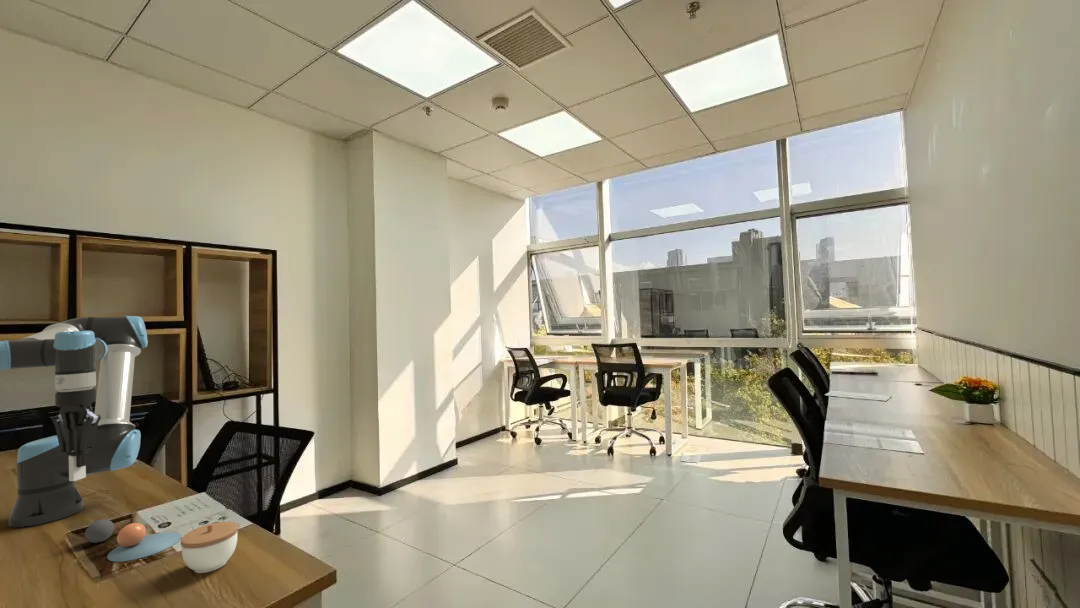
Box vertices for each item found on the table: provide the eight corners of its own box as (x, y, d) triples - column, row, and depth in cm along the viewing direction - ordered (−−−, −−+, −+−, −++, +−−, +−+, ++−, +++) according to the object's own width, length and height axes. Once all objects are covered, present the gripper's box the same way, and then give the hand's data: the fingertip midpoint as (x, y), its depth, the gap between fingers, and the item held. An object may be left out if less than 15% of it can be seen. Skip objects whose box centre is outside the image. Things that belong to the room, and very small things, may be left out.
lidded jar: (201, 555, 109) (200, 516, 109) (248, 551, 110) (247, 512, 110) (169, 581, 98) (168, 538, 99) (221, 577, 99) (220, 534, 99)
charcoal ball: (100, 521, 116) (100, 543, 115) (119, 514, 121) (120, 536, 120) (78, 525, 116) (78, 548, 115) (98, 518, 121) (99, 540, 120)
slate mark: (92, 557, 110) (92, 556, 110) (156, 530, 123) (156, 529, 123) (132, 565, 106) (132, 564, 106) (193, 536, 119) (193, 535, 119)
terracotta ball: (118, 523, 113) (133, 536, 112) (140, 515, 118) (155, 527, 117) (107, 542, 113) (122, 555, 112) (129, 533, 118) (144, 545, 117)
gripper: (38, 392, 116) (40, 483, 116) (78, 391, 114) (80, 485, 114) (73, 387, 124) (74, 473, 123) (111, 386, 121) (113, 474, 121)
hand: (77, 479), depth 118 cm, fingers closed
